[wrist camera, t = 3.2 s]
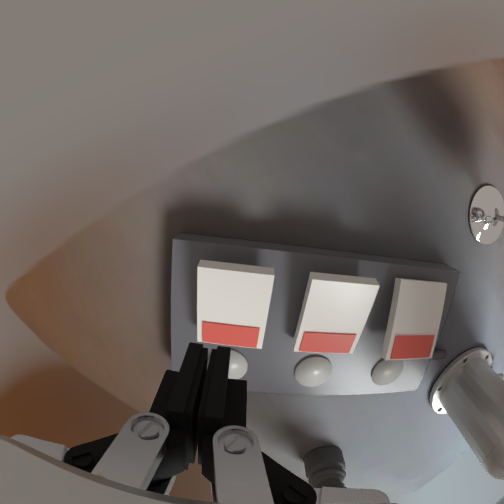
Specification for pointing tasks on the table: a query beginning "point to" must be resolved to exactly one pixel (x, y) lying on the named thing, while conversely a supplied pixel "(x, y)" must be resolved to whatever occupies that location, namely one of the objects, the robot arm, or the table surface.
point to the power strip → (288, 311)
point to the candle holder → (325, 467)
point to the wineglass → (486, 215)
